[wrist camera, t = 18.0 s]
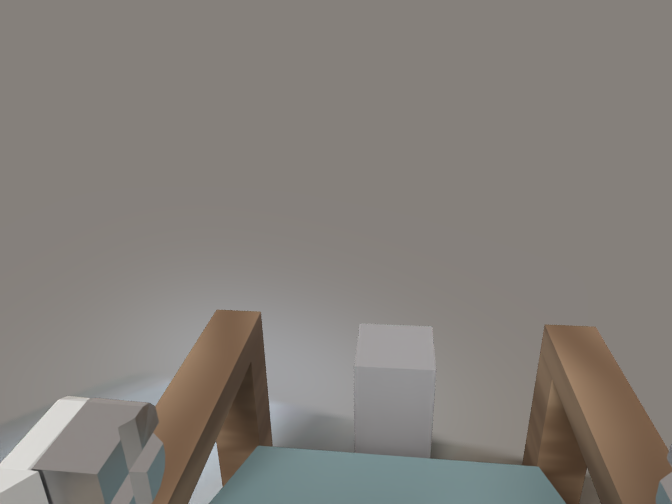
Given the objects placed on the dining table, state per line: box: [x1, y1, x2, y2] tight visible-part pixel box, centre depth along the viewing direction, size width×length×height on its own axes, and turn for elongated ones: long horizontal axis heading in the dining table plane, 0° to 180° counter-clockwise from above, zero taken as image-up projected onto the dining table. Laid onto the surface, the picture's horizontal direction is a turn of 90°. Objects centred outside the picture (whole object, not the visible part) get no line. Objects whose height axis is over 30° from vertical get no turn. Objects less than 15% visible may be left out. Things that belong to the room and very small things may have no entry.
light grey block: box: [354, 324, 436, 458], centre depth 37 cm, size 5×5×9 cm
